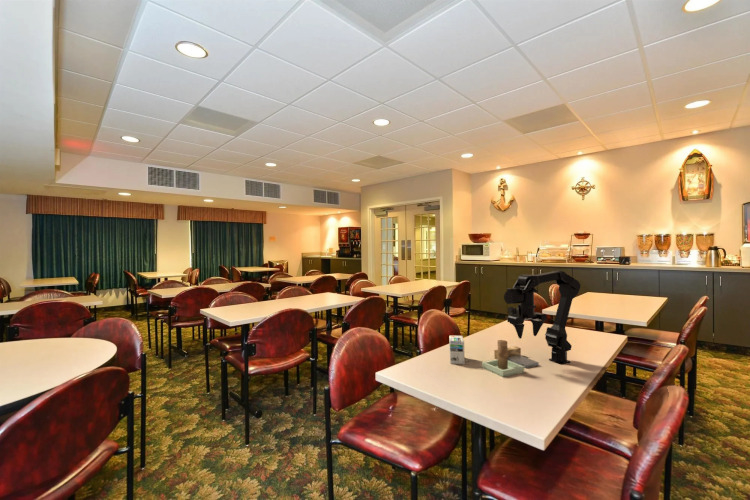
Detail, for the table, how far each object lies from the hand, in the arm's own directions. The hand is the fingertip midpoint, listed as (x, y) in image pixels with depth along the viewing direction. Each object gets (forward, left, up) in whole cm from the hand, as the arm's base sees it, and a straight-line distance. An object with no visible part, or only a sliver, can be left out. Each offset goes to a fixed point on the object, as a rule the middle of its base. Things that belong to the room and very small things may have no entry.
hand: (527, 337), depth 147 cm
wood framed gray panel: (-1, -4, -14) cm, 14 cm away
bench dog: (-1, -13, -13) cm, 18 cm away
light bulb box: (+24, -20, -13) cm, 34 cm away
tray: (+14, -1, -13) cm, 19 cm away
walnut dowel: (+14, -1, -12) cm, 19 cm away
